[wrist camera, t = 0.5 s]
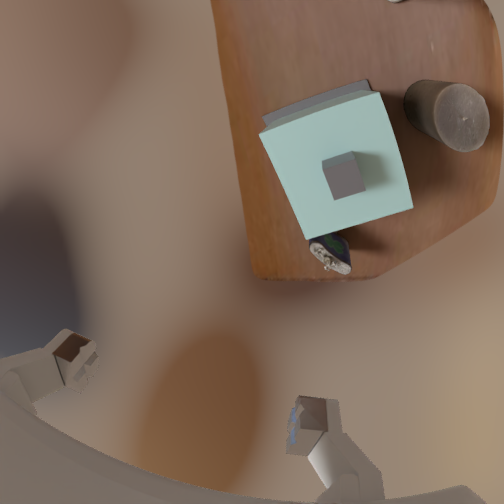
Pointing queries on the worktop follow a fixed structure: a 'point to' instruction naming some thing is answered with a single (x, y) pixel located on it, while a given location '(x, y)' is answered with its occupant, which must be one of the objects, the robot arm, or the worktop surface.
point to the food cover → (339, 163)
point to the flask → (332, 252)
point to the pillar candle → (448, 113)
